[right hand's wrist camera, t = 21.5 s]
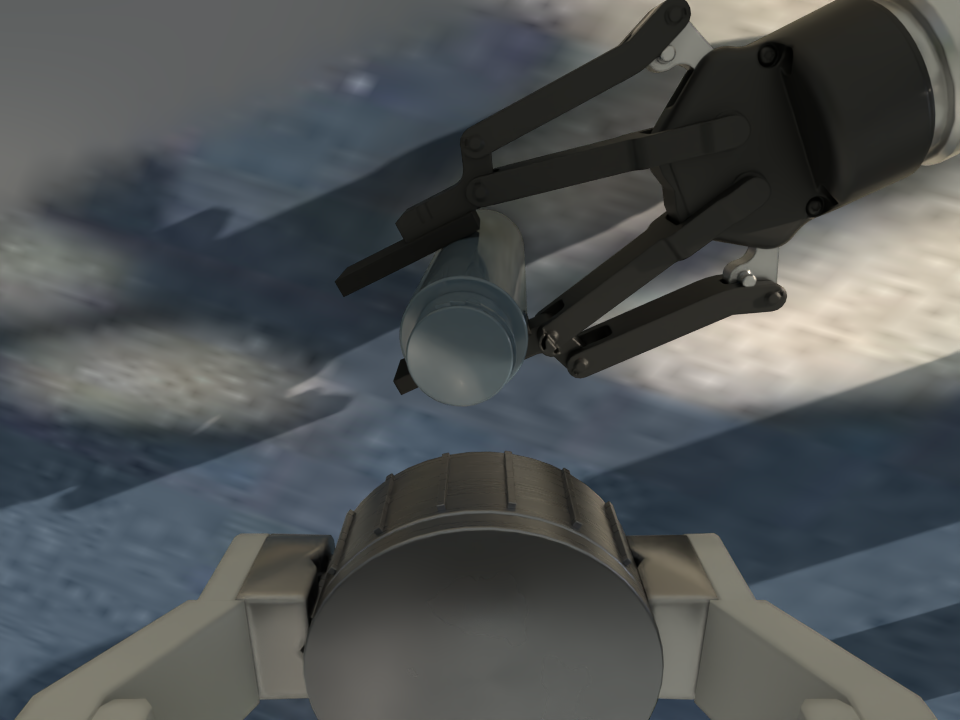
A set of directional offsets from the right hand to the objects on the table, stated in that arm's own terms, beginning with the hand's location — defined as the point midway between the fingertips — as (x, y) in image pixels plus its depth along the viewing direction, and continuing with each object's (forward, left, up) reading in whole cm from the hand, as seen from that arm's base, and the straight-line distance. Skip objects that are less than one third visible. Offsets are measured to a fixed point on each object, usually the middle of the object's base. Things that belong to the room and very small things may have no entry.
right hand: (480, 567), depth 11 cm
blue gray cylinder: (0, 0, -26) cm, 26 cm away
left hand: (-5, 0, -20) cm, 20 cm away
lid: (0, 0, +2) cm, 2 cm away
